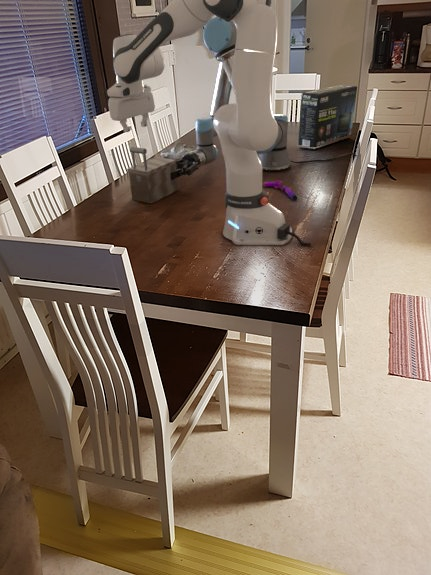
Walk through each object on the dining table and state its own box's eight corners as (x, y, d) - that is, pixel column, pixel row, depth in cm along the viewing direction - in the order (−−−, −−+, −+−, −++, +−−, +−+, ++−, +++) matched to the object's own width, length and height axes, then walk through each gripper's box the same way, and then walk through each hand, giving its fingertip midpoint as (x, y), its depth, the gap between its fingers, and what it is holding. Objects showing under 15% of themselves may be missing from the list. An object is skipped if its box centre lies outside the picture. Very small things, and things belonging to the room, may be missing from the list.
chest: (151, 203, 176) (147, 175, 170) (132, 199, 181) (128, 171, 175) (178, 190, 188) (175, 163, 183) (159, 186, 193) (156, 160, 187)
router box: (314, 151, 231) (318, 94, 217) (296, 148, 237) (299, 92, 224) (352, 138, 251) (358, 85, 238) (335, 135, 258) (340, 83, 245)
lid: (146, 175, 170) (144, 150, 165) (127, 172, 174) (124, 147, 170) (175, 163, 182) (173, 139, 178) (156, 160, 187) (154, 137, 182)
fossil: (184, 156, 217) (163, 136, 220) (174, 174, 223) (154, 154, 227) (205, 153, 231) (186, 134, 234) (195, 171, 237) (176, 152, 240)
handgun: (263, 185, 189) (263, 181, 188) (281, 183, 190) (281, 179, 189) (278, 202, 172) (278, 197, 171) (298, 200, 173) (298, 195, 172)
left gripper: (143, 83, 167) (147, 122, 174) (103, 91, 153) (109, 134, 160) (156, 84, 164) (160, 124, 171) (117, 92, 150) (123, 135, 157)
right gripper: (214, 172, 197) (184, 187, 181) (173, 165, 207) (141, 179, 192) (214, 154, 193) (183, 169, 177) (172, 149, 204) (139, 161, 188)
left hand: (135, 129), depth 166 cm, fingers open, 8 cm apart
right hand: (161, 174), depth 184 cm, fingers closed on chest, 10 cm apart
